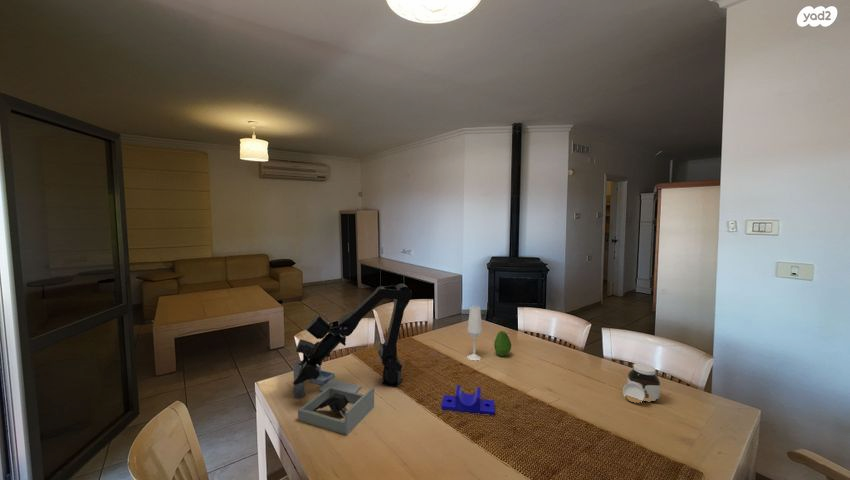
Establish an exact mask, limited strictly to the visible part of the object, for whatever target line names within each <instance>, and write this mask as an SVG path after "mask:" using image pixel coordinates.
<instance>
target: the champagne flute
mask: <svg viewBox="0 0 850 480" xmlns="http://www.w3.org/2000/svg"><path fill="white" fill-rule="evenodd" d="M482 328H483V327H482V311H481V307H480V306H477V305H476V306H475V305H474V306H470V307H469V315H468V322H467V333H468V335H469V336H470V337H471V338H473V340H472V354H469V355H467V356H466V359H467V358H468V359H467V360H469V359H470V360H469V361H471V360H475V361H474V362H477V361H476V360H479V361H481V360H482V357H481V356H479V355H478V354H477V353H476V344H477V343H476V339H477V338H478V337H480V335H481V334H482V333H483V329H482ZM480 359H481V360H480Z"/></svg>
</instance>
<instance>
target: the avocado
mask: <svg viewBox="0 0 850 480" xmlns="http://www.w3.org/2000/svg"><path fill="white" fill-rule="evenodd" d="M493 347H494V351H495V353H496V354H497V355H498V356H501V357H505V356H507V355H508V354H509V353H510V352H511V350H512V341H511V340H510V337H509V335H508V333H507V332H506V331H504V330H500V331H499V332H498V333H497V334H496V337H495V339H494V343H493Z"/></svg>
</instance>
